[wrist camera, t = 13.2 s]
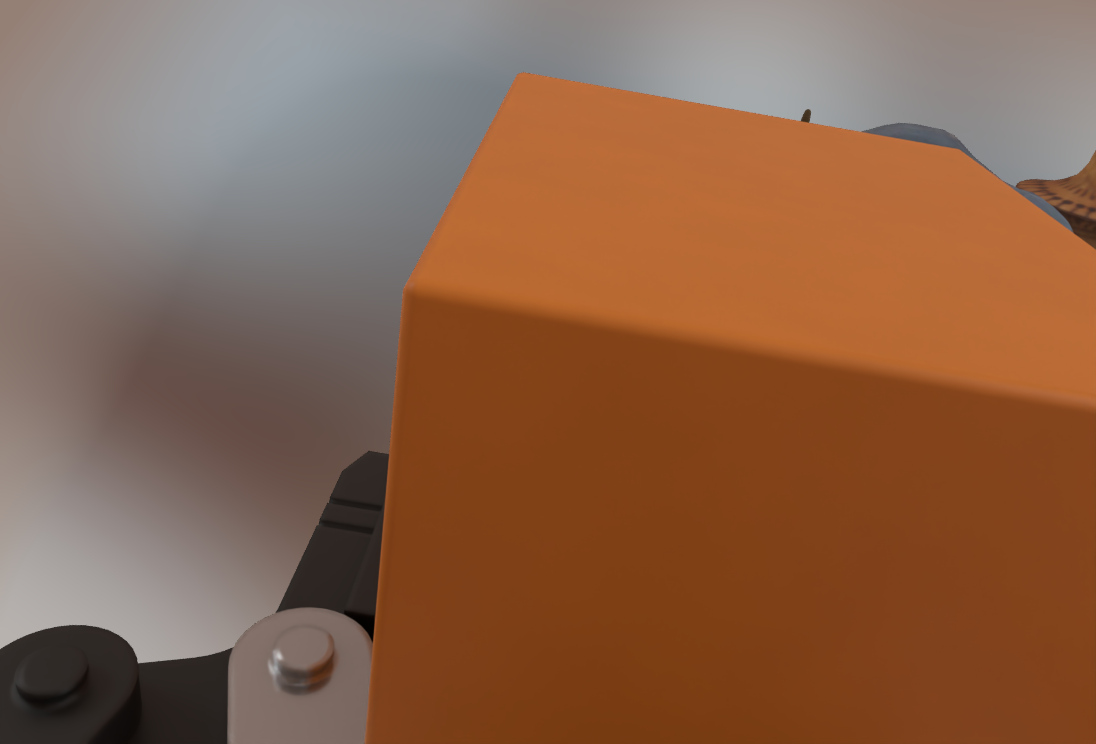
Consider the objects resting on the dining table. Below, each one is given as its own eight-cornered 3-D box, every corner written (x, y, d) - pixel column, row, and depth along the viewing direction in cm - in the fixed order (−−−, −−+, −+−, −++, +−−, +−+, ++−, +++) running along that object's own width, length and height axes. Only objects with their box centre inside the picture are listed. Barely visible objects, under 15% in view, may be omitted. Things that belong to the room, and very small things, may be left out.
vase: (906, 435, 69) (1078, 33, 54) (932, 386, 77) (1086, 26, 63) (1055, 495, 65) (1284, 76, 50) (1065, 436, 73) (1264, 62, 58)
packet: (322, 1236, 10) (400, 280, 4) (420, 776, 15) (516, 69, 10) (749, 1302, 10) (1378, 449, 4) (702, 822, 15) (963, 148, 10)
